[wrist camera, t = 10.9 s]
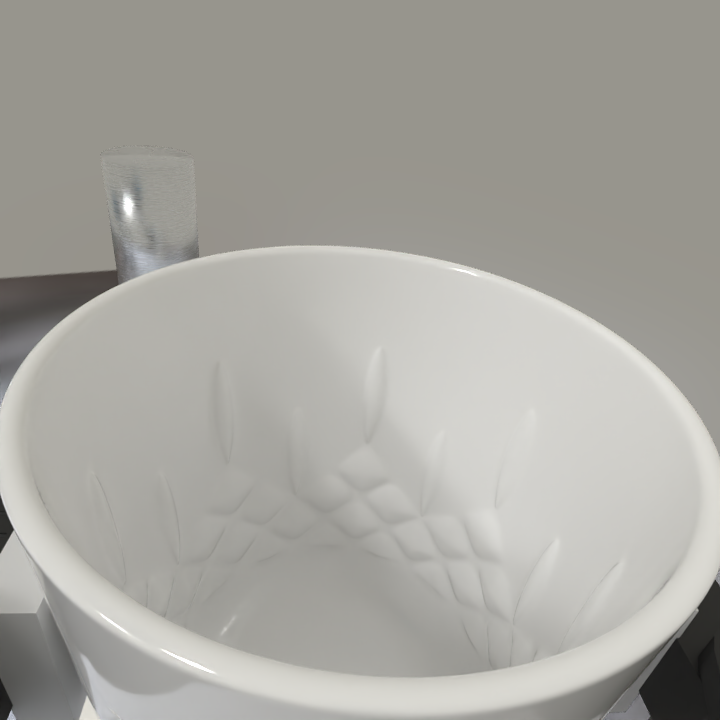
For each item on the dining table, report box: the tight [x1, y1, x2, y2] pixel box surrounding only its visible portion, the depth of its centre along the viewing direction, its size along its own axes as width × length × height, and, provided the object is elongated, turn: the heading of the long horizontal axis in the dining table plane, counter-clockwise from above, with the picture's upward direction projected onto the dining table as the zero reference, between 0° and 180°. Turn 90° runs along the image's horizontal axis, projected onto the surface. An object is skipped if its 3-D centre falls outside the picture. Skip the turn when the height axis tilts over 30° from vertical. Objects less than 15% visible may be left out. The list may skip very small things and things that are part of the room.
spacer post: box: [100, 146, 199, 285], centre depth 28 cm, size 4×4×9 cm
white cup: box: [0, 245, 720, 720], centre depth 9 cm, size 8×8×10 cm
